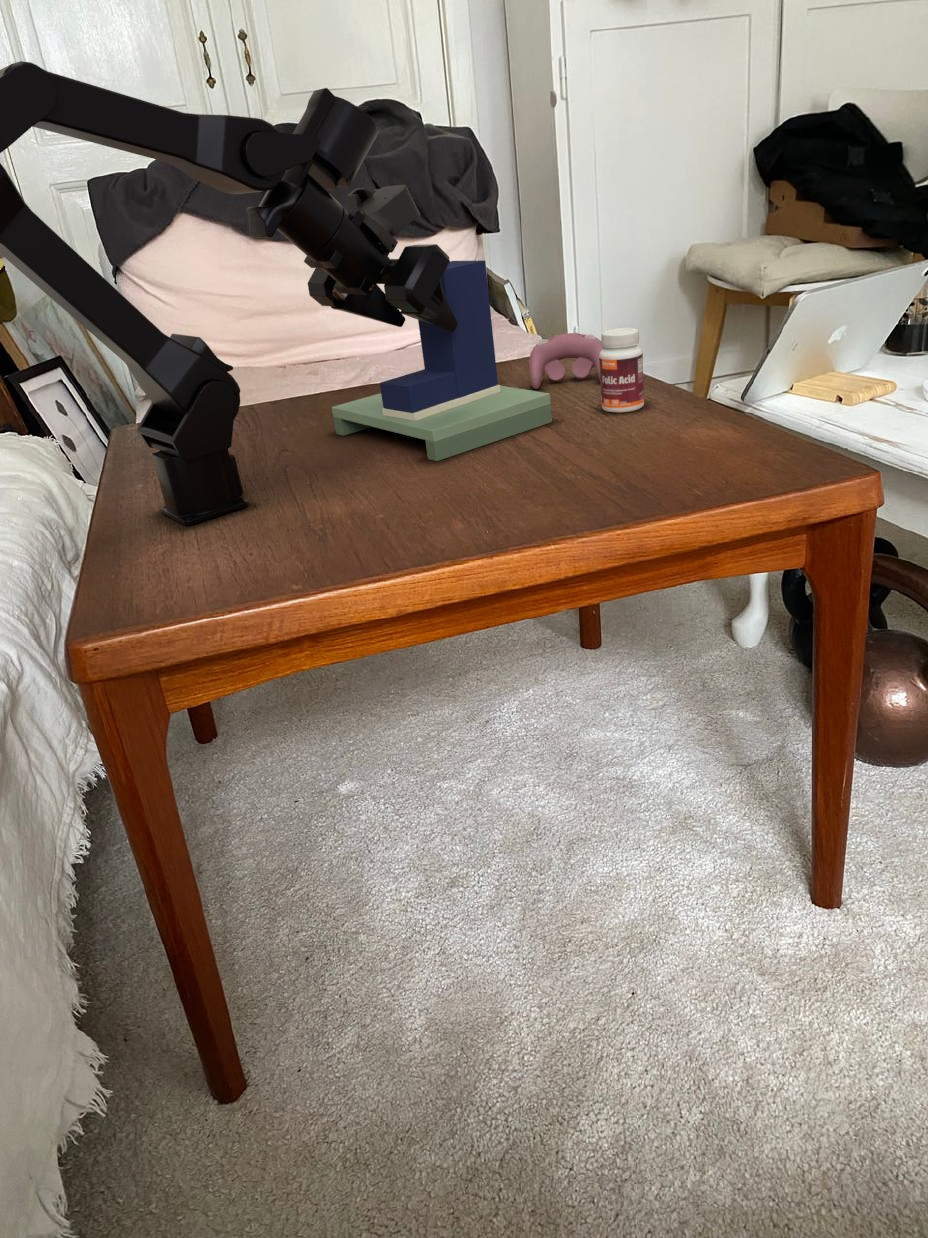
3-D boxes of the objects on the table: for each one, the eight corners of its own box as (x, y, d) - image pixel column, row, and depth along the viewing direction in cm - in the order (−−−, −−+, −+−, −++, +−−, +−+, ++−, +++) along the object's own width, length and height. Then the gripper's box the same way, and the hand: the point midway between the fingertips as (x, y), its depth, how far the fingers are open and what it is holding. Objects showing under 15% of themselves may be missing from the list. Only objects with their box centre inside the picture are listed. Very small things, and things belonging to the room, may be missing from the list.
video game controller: (609, 388, 121) (605, 334, 121) (609, 379, 117) (605, 323, 117) (531, 395, 123) (528, 341, 123) (529, 387, 118) (525, 331, 118)
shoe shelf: (436, 461, 96) (432, 430, 95) (336, 433, 111) (331, 406, 110) (552, 422, 105) (550, 393, 103) (444, 401, 119) (441, 375, 118)
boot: (415, 421, 99) (395, 281, 93) (382, 415, 103) (361, 280, 97) (500, 391, 106) (487, 260, 100) (467, 387, 110) (452, 260, 104)
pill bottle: (598, 414, 105) (594, 337, 101) (605, 402, 109) (601, 328, 106) (641, 412, 104) (638, 334, 100) (647, 401, 108) (644, 325, 104)
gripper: (420, 149, 85) (521, 260, 95) (312, 164, 98) (411, 260, 109) (361, 256, 84) (470, 356, 95) (260, 257, 97) (366, 344, 108)
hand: (428, 325), depth 102 cm, fingers open, 9 cm apart
